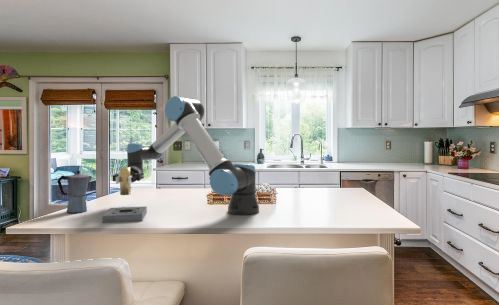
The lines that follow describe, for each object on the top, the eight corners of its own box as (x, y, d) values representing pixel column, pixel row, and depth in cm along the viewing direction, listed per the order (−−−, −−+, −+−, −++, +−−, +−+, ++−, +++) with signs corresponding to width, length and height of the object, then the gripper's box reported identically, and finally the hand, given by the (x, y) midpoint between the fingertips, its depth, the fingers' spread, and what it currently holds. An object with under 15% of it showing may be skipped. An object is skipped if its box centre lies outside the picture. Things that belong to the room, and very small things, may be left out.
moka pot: (96, 210, 158) (95, 170, 157) (62, 216, 146) (60, 172, 146) (89, 207, 164) (88, 169, 163) (55, 212, 153) (54, 171, 152)
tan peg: (131, 193, 146) (131, 167, 145) (129, 195, 142) (129, 168, 141) (121, 193, 145) (120, 167, 145) (119, 195, 141) (118, 168, 140)
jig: (146, 212, 153) (146, 206, 153) (142, 220, 137) (142, 214, 137) (111, 214, 150) (111, 207, 150) (102, 222, 134) (102, 215, 134)
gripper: (150, 181, 162) (144, 188, 140) (113, 182, 159) (101, 189, 136) (149, 166, 162) (143, 171, 139) (113, 167, 159) (101, 172, 136)
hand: (122, 180), depth 138 cm, fingers closed on tan peg, 4 cm apart
